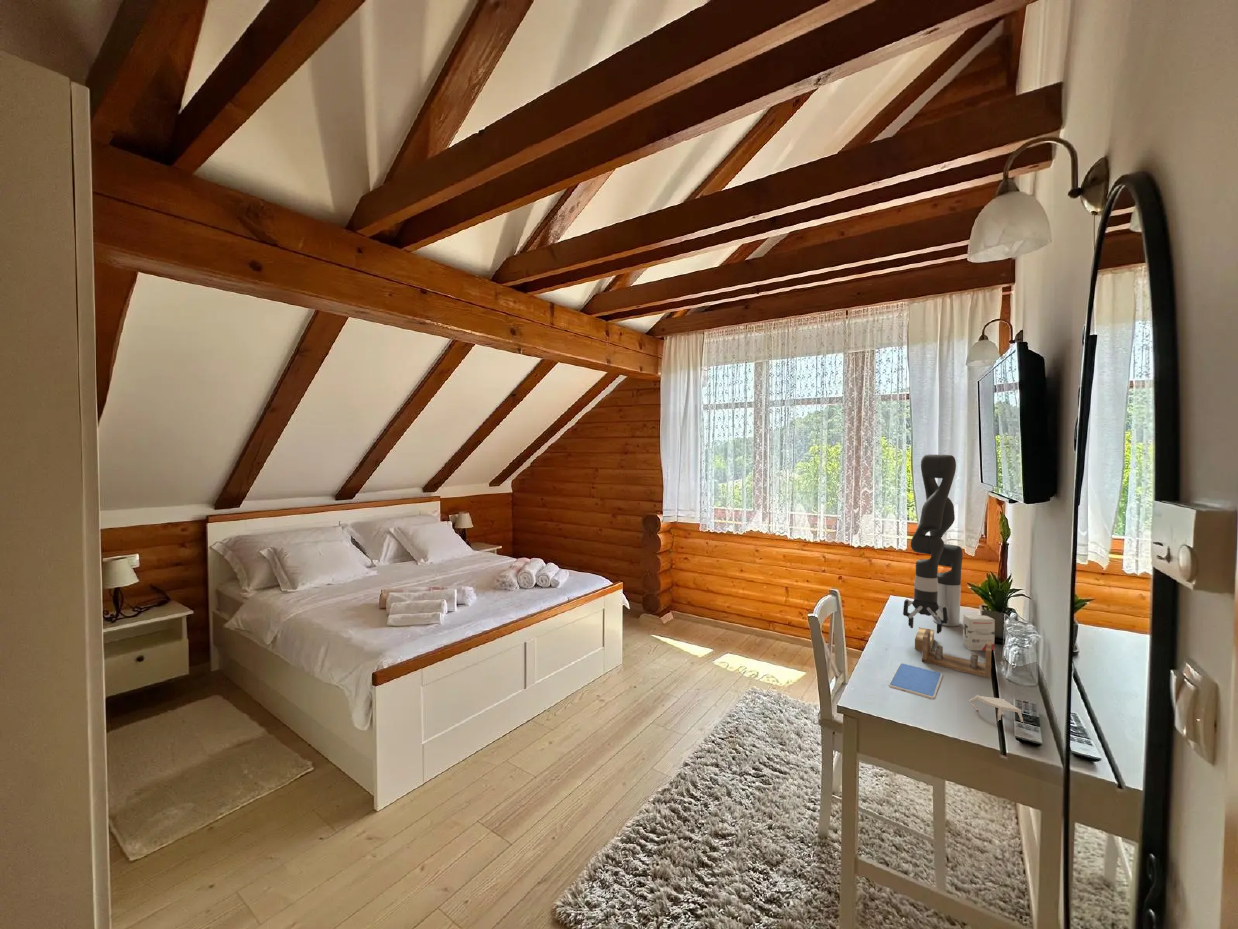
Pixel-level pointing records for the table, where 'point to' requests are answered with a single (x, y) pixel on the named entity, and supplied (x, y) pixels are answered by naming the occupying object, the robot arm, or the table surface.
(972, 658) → the peg stand
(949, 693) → the table surface
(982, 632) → the ink box
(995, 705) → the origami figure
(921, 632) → the golden rectangular block
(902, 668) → the blue flat rectangular panel
